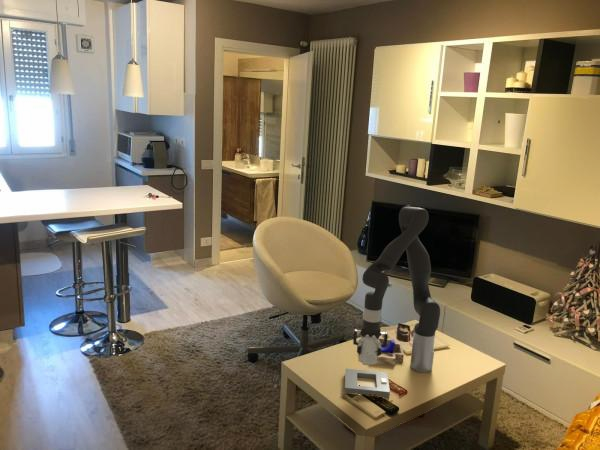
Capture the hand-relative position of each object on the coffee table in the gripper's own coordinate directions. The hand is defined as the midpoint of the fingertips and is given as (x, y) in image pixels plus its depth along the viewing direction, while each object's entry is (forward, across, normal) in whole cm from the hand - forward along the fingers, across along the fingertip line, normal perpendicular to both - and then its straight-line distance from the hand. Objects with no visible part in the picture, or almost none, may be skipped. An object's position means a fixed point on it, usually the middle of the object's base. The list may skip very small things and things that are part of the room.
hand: (368, 354), depth 206 cm
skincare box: (+4, 0, 0) cm, 4 cm away
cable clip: (+15, -8, -31) cm, 35 cm away
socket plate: (+15, 0, 0) cm, 15 cm away
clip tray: (+15, -8, -29) cm, 33 cm away
